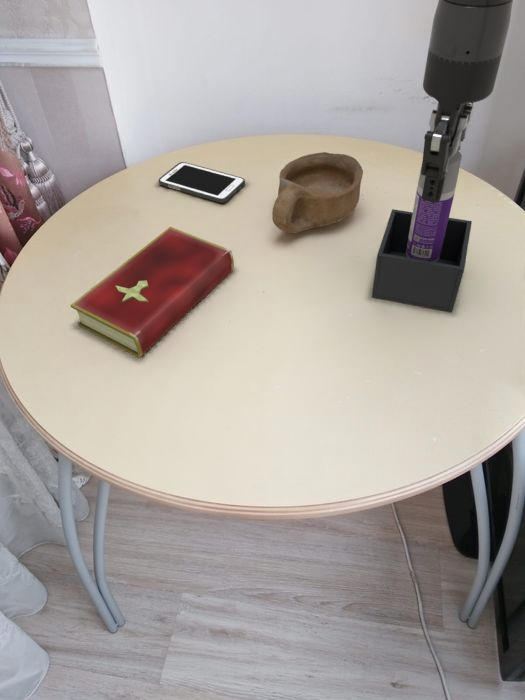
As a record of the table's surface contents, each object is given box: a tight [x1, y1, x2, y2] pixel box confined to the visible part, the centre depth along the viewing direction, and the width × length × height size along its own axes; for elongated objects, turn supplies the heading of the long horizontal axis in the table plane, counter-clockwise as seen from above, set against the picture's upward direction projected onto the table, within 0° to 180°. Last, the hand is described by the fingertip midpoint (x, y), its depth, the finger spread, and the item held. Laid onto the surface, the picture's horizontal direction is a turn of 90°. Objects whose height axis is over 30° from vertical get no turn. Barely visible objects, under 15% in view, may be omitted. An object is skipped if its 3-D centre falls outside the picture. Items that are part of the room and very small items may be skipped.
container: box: [406, 147, 463, 262], centre depth 73 cm, size 5×5×15 cm
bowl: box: [271, 151, 364, 234], centre depth 91 cm, size 18×14×10 cm
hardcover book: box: [70, 226, 235, 359], centre depth 81 cm, size 12×21×4 cm, turn 146°
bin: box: [371, 208, 473, 313], centre depth 80 cm, size 11×11×8 cm
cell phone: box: [158, 161, 246, 204], centre depth 102 cm, size 8×15×1 cm, turn 60°
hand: (436, 189), depth 71 cm, fingers closed on container, 4 cm apart
